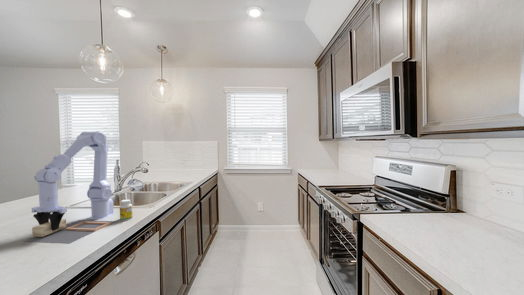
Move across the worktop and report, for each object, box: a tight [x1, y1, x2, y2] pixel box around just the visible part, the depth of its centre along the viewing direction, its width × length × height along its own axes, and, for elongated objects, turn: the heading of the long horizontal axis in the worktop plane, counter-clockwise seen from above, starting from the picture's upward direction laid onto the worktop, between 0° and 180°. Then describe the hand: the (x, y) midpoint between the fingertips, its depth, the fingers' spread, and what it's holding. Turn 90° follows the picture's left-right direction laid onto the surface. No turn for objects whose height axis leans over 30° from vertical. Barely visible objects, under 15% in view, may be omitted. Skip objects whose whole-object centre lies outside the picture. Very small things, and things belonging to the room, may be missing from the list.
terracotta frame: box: [66, 221, 112, 232], centre depth 103 cm, size 9×14×1 cm, turn 83°
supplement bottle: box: [119, 199, 134, 221], centre depth 114 cm, size 5×5×10 cm
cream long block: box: [31, 218, 67, 237], centre depth 96 cm, size 10×4×4 cm, turn 173°
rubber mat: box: [22, 219, 117, 245], centre depth 99 cm, size 24×20×1 cm
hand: (50, 229), depth 96 cm, fingers closed on cream long block, 4 cm apart
